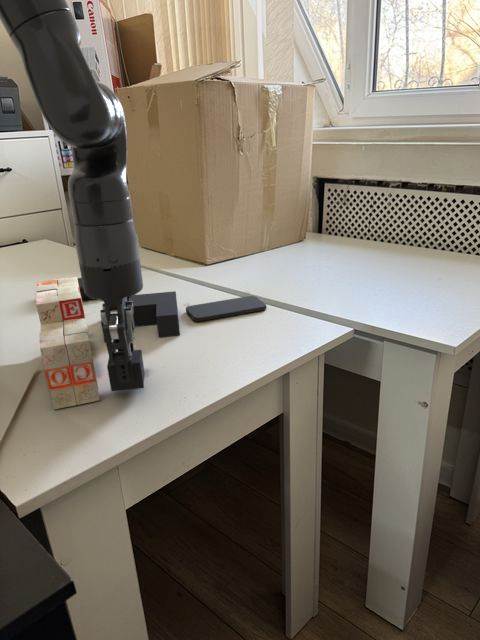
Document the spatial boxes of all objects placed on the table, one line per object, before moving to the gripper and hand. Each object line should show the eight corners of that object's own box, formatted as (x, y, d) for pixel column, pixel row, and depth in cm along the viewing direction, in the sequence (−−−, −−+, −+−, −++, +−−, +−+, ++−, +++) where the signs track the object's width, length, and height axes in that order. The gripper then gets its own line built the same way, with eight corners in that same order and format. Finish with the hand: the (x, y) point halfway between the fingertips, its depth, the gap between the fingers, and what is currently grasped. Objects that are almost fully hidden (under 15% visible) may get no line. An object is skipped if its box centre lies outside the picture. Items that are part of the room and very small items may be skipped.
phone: (268, 306, 100) (195, 318, 94) (268, 310, 100) (195, 322, 95) (253, 295, 106) (184, 306, 100) (253, 298, 106) (184, 310, 101)
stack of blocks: (101, 401, 70) (85, 318, 65) (53, 411, 68) (32, 326, 63) (90, 343, 88) (77, 275, 83) (52, 350, 86) (36, 280, 81)
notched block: (104, 342, 88) (100, 321, 86) (111, 316, 100) (107, 297, 98) (179, 335, 90) (177, 314, 88) (177, 310, 102) (175, 291, 100)
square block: (111, 391, 70) (106, 365, 68) (114, 377, 74) (109, 352, 72) (143, 388, 71) (140, 362, 69) (144, 373, 75) (141, 349, 73)
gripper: (86, 245, 70) (105, 356, 78) (69, 274, 58) (94, 403, 65) (141, 242, 72) (154, 351, 79) (136, 269, 59) (153, 397, 66)
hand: (127, 374), depth 72 cm, fingers closed on square block, 4 cm apart
